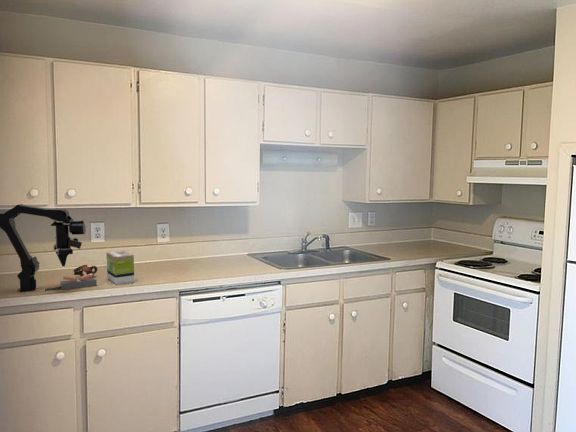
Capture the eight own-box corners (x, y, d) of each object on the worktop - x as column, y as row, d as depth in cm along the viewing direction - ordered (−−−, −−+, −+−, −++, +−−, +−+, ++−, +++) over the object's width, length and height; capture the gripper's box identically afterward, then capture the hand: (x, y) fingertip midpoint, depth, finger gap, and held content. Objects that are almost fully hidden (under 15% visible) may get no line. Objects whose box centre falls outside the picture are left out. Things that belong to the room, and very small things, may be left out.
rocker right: (81, 280, 234) (80, 278, 234) (80, 278, 237) (79, 276, 237) (93, 276, 238) (93, 274, 237) (92, 275, 240) (91, 273, 240)
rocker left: (63, 279, 230) (63, 277, 230) (62, 278, 232) (62, 276, 232) (76, 280, 233) (76, 278, 233) (75, 279, 236) (75, 277, 236)
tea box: (106, 279, 251) (105, 252, 250) (125, 276, 258) (124, 250, 256) (115, 284, 240) (114, 256, 238) (135, 282, 246) (134, 254, 244)
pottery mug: (80, 282, 247) (73, 268, 247) (76, 286, 254) (70, 273, 254) (102, 273, 254) (95, 259, 255) (98, 277, 262) (91, 264, 262)
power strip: (45, 291, 225) (45, 285, 224) (44, 289, 230) (44, 282, 229) (96, 285, 237) (96, 279, 237) (94, 283, 242) (94, 277, 242)
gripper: (83, 236, 226) (84, 267, 227) (76, 231, 241) (77, 261, 243) (58, 237, 220) (59, 270, 221) (52, 232, 235) (54, 263, 237)
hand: (63, 266), depth 231 cm, fingers closed
